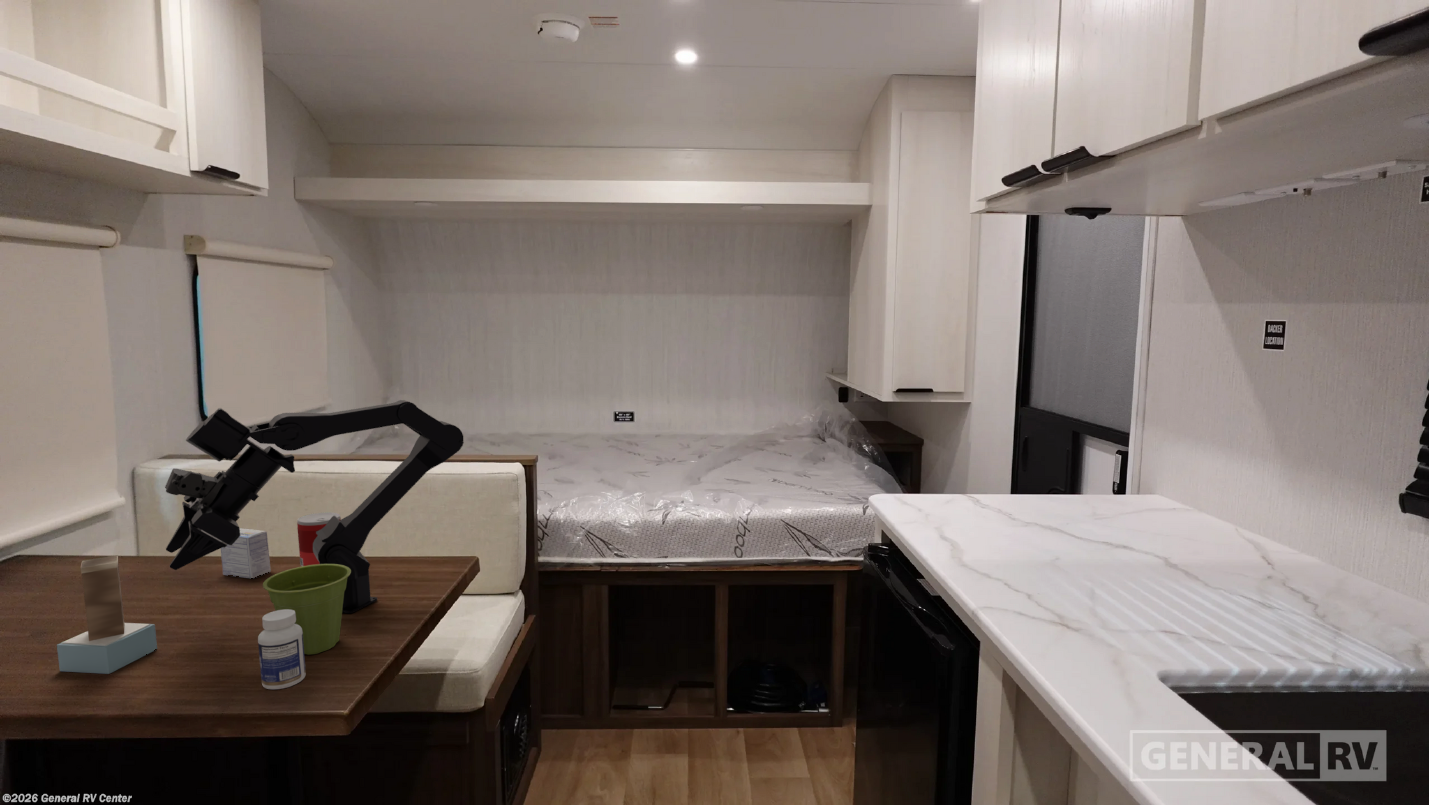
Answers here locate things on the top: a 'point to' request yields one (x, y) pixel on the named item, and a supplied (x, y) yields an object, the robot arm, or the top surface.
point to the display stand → (107, 650)
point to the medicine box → (247, 555)
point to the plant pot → (312, 601)
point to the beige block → (102, 597)
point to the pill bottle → (281, 650)
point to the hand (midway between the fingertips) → (170, 559)
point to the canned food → (311, 534)
